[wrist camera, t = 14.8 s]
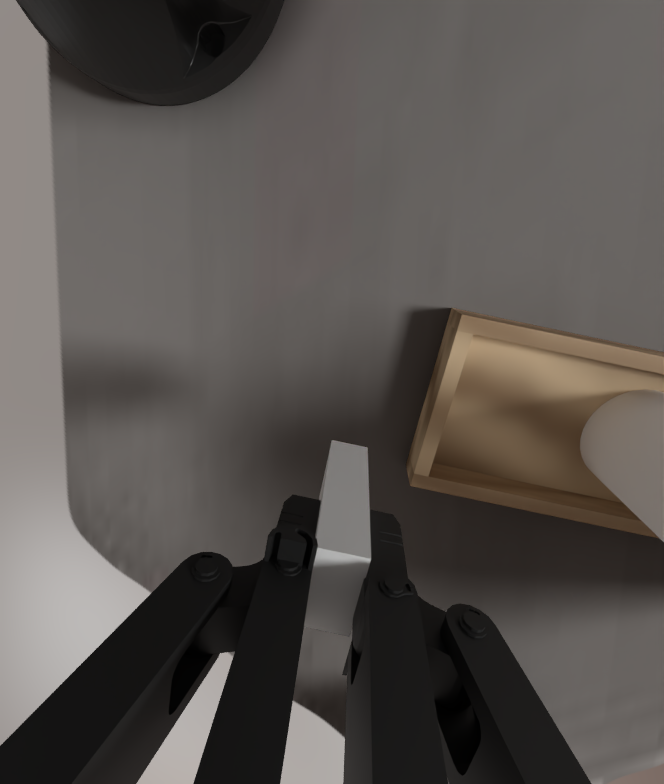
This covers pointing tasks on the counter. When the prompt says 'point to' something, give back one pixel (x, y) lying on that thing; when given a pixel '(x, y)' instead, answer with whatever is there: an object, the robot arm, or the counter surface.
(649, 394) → the cylindrical container
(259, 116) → the counter surface
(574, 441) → the tray
